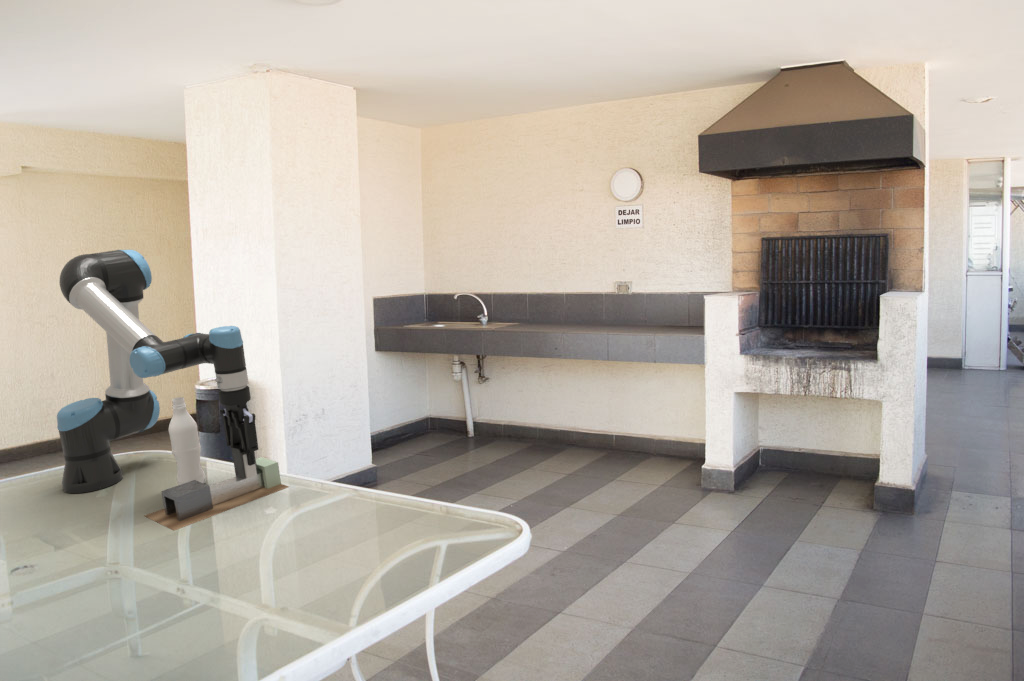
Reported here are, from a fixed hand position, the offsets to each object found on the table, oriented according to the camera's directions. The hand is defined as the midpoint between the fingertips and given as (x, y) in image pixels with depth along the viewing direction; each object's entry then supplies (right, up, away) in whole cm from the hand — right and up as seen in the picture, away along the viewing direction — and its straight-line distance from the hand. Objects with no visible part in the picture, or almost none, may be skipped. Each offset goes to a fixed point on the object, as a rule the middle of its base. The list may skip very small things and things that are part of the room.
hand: (246, 474), depth 208 cm
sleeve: (-10, -8, -11) cm, 17 cm away
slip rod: (-2, -5, -2) cm, 6 cm away
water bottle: (-17, -5, +8) cm, 20 cm away
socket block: (+4, -4, +5) cm, 7 cm away
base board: (-5, -7, -5) cm, 10 cm away
